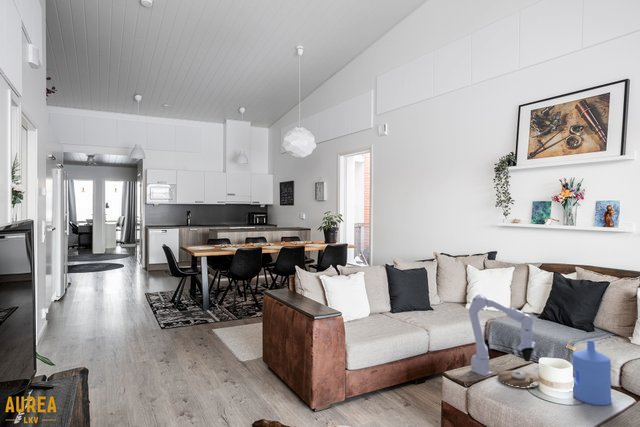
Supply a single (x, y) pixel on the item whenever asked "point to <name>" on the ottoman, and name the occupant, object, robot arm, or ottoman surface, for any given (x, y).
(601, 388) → the water jug
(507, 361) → the ottoman surface
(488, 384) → the ottoman surface
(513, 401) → the ottoman surface
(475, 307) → the robot arm
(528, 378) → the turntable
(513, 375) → the cover
